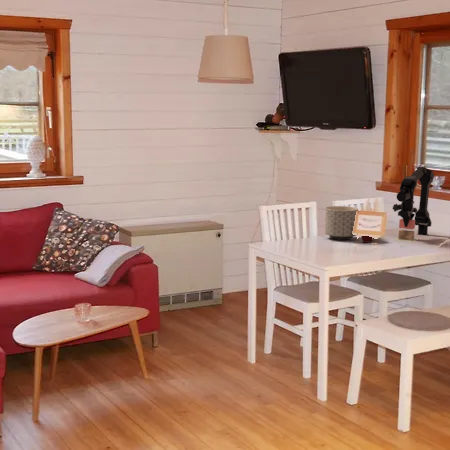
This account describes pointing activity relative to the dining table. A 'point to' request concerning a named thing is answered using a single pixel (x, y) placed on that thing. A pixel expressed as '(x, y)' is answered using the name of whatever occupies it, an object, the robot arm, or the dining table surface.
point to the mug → (367, 239)
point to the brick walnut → (406, 235)
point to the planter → (340, 222)
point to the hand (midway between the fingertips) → (406, 226)
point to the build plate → (406, 240)
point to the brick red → (410, 225)
